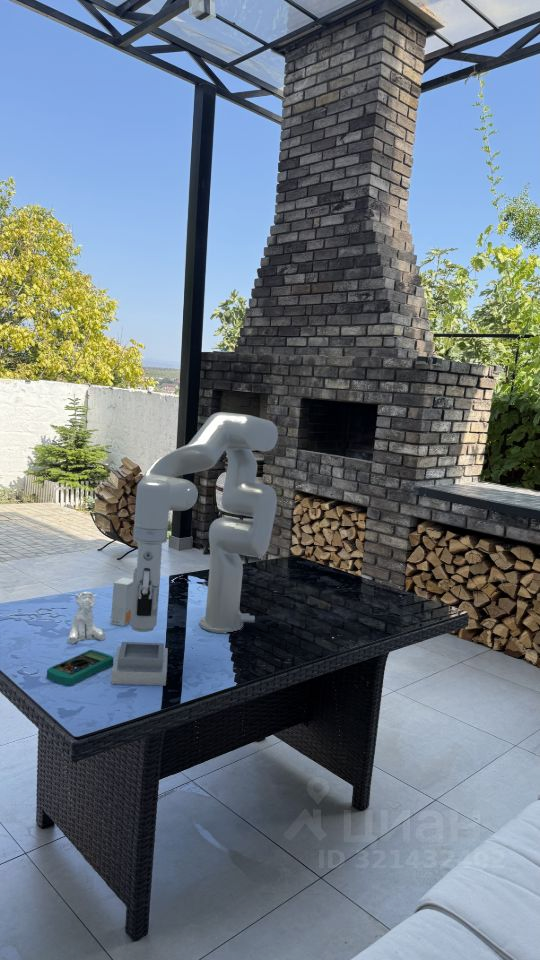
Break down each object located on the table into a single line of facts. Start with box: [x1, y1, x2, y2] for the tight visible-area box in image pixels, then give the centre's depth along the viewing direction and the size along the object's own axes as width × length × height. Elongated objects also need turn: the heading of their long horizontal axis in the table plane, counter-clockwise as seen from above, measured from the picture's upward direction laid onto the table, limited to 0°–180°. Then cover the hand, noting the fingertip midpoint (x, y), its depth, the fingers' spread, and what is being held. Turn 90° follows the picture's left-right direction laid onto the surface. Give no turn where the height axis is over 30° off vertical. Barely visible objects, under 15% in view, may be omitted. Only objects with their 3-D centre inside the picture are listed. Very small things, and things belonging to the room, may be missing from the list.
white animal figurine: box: [67, 590, 106, 645], centre depth 164 cm, size 10×9×12 cm
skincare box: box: [110, 577, 133, 627], centre depth 177 cm, size 6×4×12 cm
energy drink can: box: [129, 566, 161, 633], centre depth 145 cm, size 6×6×15 cm
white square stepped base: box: [110, 641, 169, 686], centre depth 147 cm, size 12×14×5 cm
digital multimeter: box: [46, 649, 114, 687], centre depth 145 cm, size 7×15×3 cm, turn 153°
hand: (144, 609), depth 146 cm, fingers closed on energy drink can, 6 cm apart
